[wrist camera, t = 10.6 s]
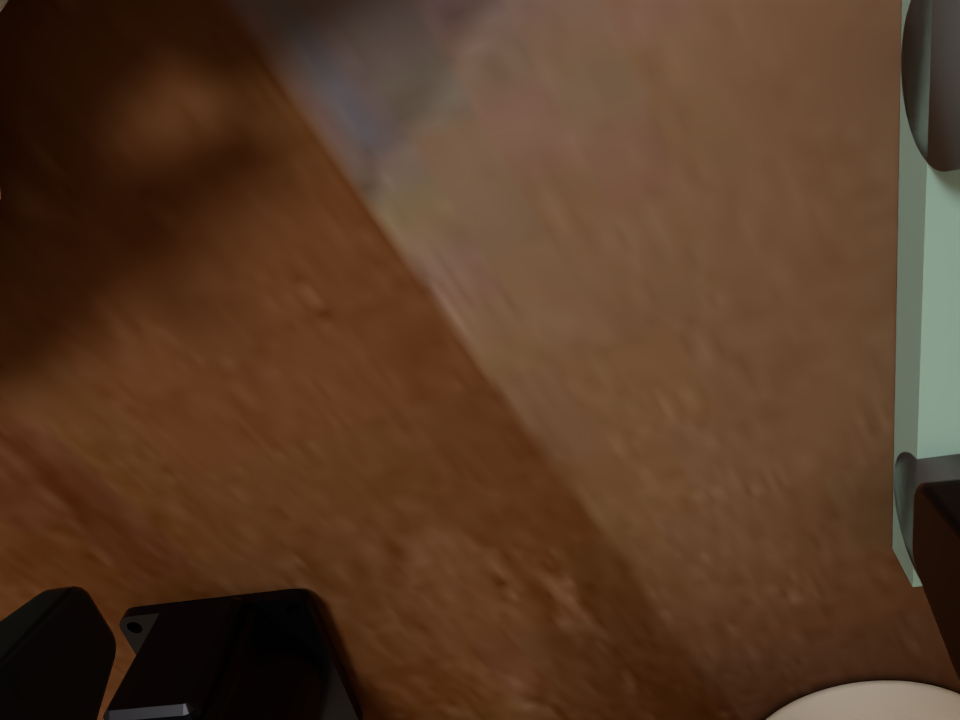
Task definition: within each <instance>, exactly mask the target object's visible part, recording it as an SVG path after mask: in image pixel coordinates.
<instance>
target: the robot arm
mask: <svg viewBox="0 0 960 720" xmlns="http://www.w3.org/2000/svg"><path fill="white" fill-rule="evenodd" d="M912 551H913V558H914V563H915V567H916V570H917V573H918V576H919V578H920V581H921V584H922V586H923V589H924V591H925V594H926V596H927V599H928V602H929V604H930V607H931V609H932V612H933V615H934V617H935V620H936V622H937V625H938V628H939V630H940V633H941V635H942V638H943V641H944V643H945V646H946V648H947V651H948V653H949V656H950V659H951V661H952V664H953V666H954V669H955V672H956V674H957V677H958V679H959V682H960V479H959V478H955V479H947V480H939V481H930V482H924V483H921V484H920V485H919V486H917V487H916V490H915V493H914V506H913V537H912ZM293 604H296V605H298V606H295V605H293ZM119 625H120V628H121V630H122V632H123V634H124V635H125V637H126V639H127V640H128V642H129V644H130V645H131V647H132V649H133V650H134V652H135V654H136V657H135V658H134V660H133V662H132V664H131V666H130V667H129V669H128V671H127V673H126V675H125V677H124V678H123V680H122V682H121V684H120V686H119V688H118V689H117V691H116V693H115V695H114V697H113V698H112V700H111V702H110V704H109V706H108V708H107V709H106V711H105V713H104V716H103V719H104V720H363V714H362V711H361V709H360V707H359V705H358V702H357V700H356V698H355V695H354V693H353V691H352V688H351V686H350V684H349V682H348V679H347V677H346V675H345V672H344V670H343V668H342V665H341V663H340V661H339V659H338V656H337V654H336V652H335V649H334V647H333V645H332V642H331V640H330V638H329V636H328V633H327V631H326V629H325V626H324V624H323V622H322V619H321V617H320V615H319V613H318V610H317V608H316V606H315V603H314V601H313V599H312V597H311V596H310V595H309V594H308V593H307V592H305V591H303V590H300V589H287V590H279V591H270V592H261V593H253V594H244V595H235V596H227V597H218V598H209V599H201V600H192V601H183V602H175V603H166V604H157V605H149V606H140V607H133V608H130V609H128V610H127V611H126V612H125V614H124V616H123V617H122V619H121V621H120V624H119ZM115 653H116V642H115V638H114V635H113V633H112V631H111V629H110V627H109V626H108V624H107V623H106V621H105V619H104V618H103V616H102V614H101V613H100V611H99V609H98V608H97V606H96V604H95V603H94V601H93V600H92V598H91V596H90V595H89V593H88V592H87V591H86V590H84V589H83V588H81V587H76V586H72V587H64V588H56V589H50V590H46V591H44V592H42V593H40V594H38V595H37V596H36V597H34V598H33V599H31V600H30V601H29V602H27V603H26V604H24V605H23V606H22V607H20V608H19V609H17V610H16V611H15V612H13V613H12V614H10V615H9V616H8V617H6V618H5V619H3V620H2V621H1V622H0V720H97V717H98V714H99V710H100V707H101V703H102V700H103V696H104V693H105V690H106V686H107V683H108V679H109V676H110V672H111V669H112V666H113V662H114V659H115Z"/></svg>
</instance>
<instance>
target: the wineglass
mask: <svg viewBox="0 0 960 720" xmlns="http://www.w3.org/2000/svg"><path fill="white" fill-rule="evenodd" d="M765 720H960V694H958V693H956V692H953V691H950V690H947V689H944V688H941V687H938V686H933V685H929V684H924V683H918V682H910V681H897V680H877V681H864V682H856V683H849V684H844V685H839V686H835V687H831V688H827V689H824V690H820V691H817V692H814V693H812V694H809V695H806V696H804V697H802V698H799V699H797V700H795V701H793V702H791V703H789V704H787V705H786V706H784V707H782V708H781V709H779V710H778V711H776V712H775V713H773V714H772V715H770V716H769V717H768V718H767V719H765Z"/></svg>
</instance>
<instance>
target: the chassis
mask: <svg viewBox="0 0 960 720" xmlns="http://www.w3.org/2000/svg"><path fill="white" fill-rule="evenodd" d="M955 478H959V479H960V0H902V37H901V93H900V149H899V206H898V262H897V318H896V375H895V431H894V487H893V544H892V549H893V551H894V552H895V554H896V556H897V558H898V560H899V562H900V564H901V566H902V568H903V570H904V572H905V573H906V575H907V577H908V579H909V581H910V583H911V585H912V587H918V586H922V584H921V581H920V578H919V576H918V573H917V570H916V567H915V563H914V558H913V551H912V537H913V506H914V493H915V490H916V487H917V486H919V485H920V484H921V483H924V482H930V481H939V480H947V479H955Z"/></svg>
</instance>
